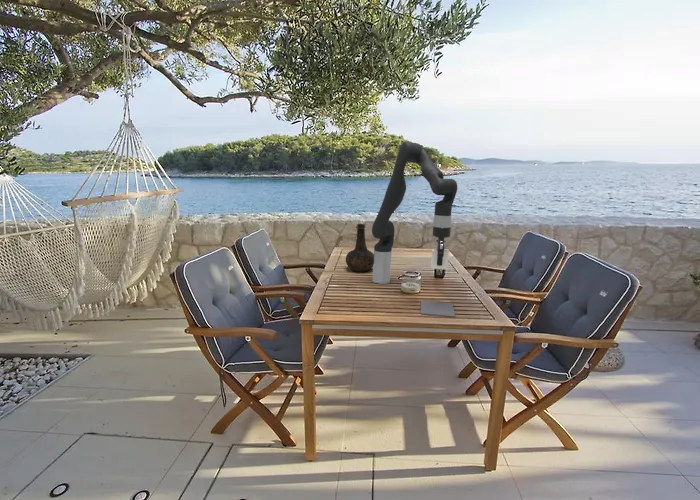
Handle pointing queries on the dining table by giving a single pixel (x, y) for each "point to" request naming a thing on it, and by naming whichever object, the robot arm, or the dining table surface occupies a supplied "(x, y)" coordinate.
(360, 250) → the glass bottle
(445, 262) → the white block copper side
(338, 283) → the dining table surface
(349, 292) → the dining table surface
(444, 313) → the mat
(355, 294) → the dining table surface
